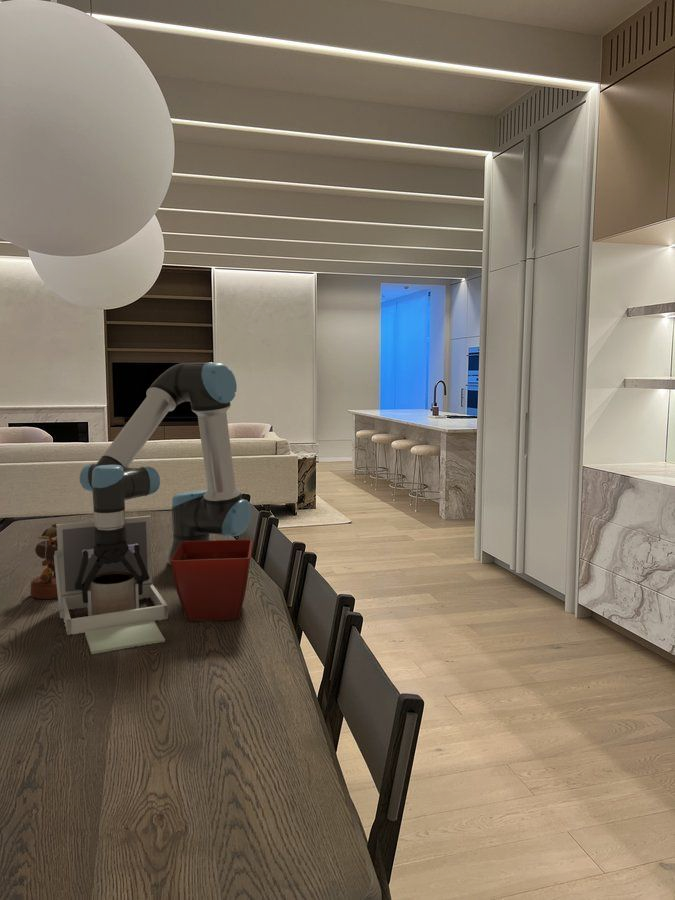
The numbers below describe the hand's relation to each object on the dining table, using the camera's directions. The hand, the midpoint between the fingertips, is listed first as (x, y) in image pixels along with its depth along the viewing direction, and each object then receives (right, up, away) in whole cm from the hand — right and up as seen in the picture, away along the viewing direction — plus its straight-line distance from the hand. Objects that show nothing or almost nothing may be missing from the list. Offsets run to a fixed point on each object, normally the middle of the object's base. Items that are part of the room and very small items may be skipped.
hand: (113, 610), depth 174 cm
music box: (-22, +1, +16) cm, 28 cm away
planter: (0, -1, 0) cm, 1 cm away
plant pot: (+26, -1, +2) cm, 26 cm away
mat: (+7, -3, -15) cm, 17 cm away
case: (0, -1, 0) cm, 1 cm away
